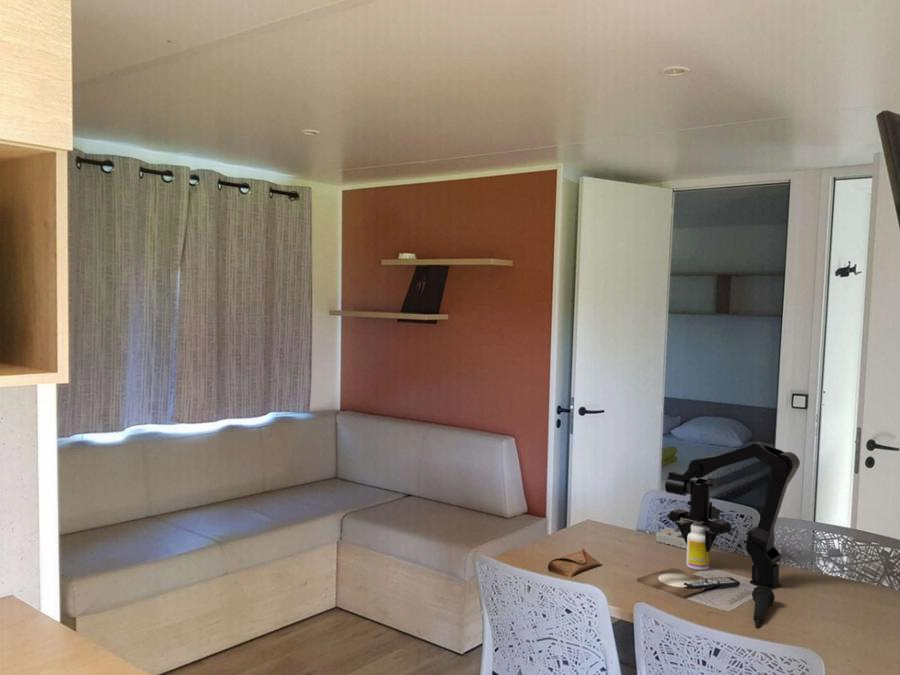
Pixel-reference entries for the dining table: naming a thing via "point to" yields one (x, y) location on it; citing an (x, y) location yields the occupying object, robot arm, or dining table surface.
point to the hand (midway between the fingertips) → (698, 548)
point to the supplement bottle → (697, 548)
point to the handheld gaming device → (671, 537)
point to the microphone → (761, 603)
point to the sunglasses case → (573, 564)
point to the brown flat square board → (672, 582)
